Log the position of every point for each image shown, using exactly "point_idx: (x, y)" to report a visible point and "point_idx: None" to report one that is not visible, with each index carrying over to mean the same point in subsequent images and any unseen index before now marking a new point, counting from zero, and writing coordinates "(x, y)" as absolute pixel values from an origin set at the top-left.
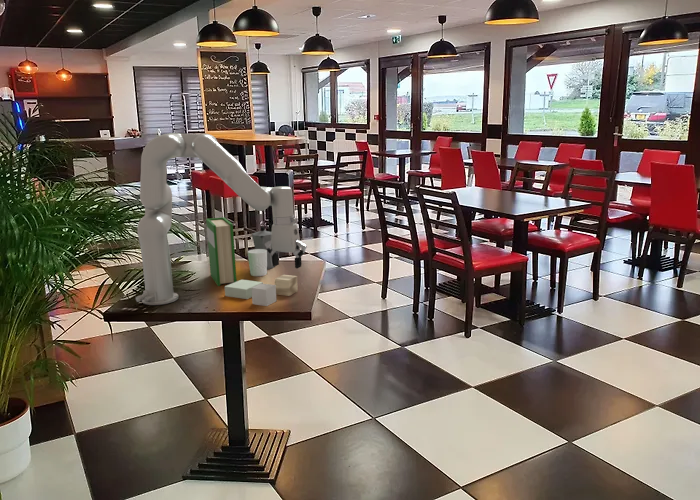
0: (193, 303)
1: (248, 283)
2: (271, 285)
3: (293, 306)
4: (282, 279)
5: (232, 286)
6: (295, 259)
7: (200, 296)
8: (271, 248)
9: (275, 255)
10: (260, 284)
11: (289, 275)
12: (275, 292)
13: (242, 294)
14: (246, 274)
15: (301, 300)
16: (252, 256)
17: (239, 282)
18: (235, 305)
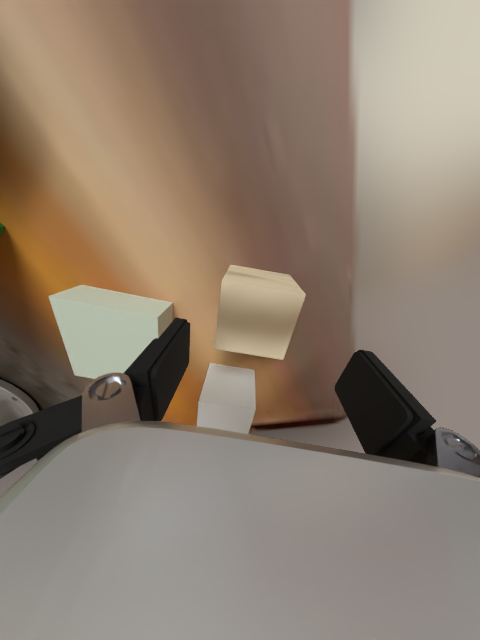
0: None
1: (117, 338)
2: (243, 413)
3: (311, 394)
4: (252, 353)
5: (97, 372)
6: (371, 451)
7: (47, 368)
8: (21, 464)
9: (151, 402)
10: (202, 410)
11: (261, 290)
12: (254, 391)
13: None
14: None
15: (323, 355)
16: None
17: (77, 332)
18: (175, 404)
